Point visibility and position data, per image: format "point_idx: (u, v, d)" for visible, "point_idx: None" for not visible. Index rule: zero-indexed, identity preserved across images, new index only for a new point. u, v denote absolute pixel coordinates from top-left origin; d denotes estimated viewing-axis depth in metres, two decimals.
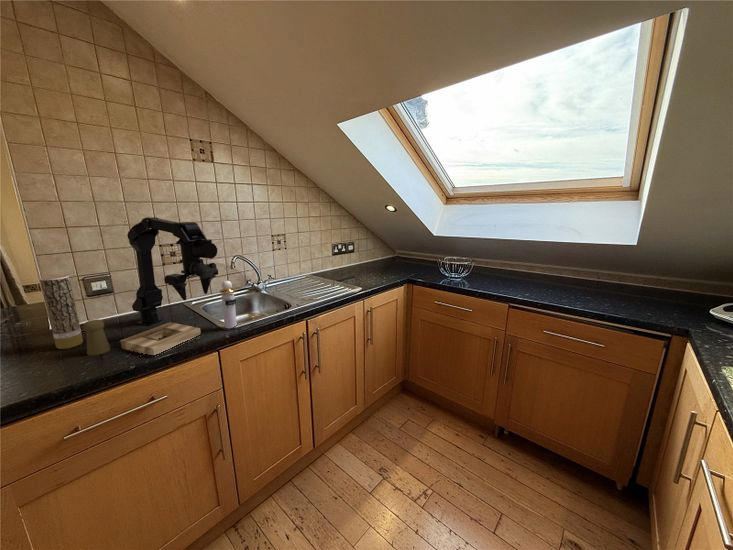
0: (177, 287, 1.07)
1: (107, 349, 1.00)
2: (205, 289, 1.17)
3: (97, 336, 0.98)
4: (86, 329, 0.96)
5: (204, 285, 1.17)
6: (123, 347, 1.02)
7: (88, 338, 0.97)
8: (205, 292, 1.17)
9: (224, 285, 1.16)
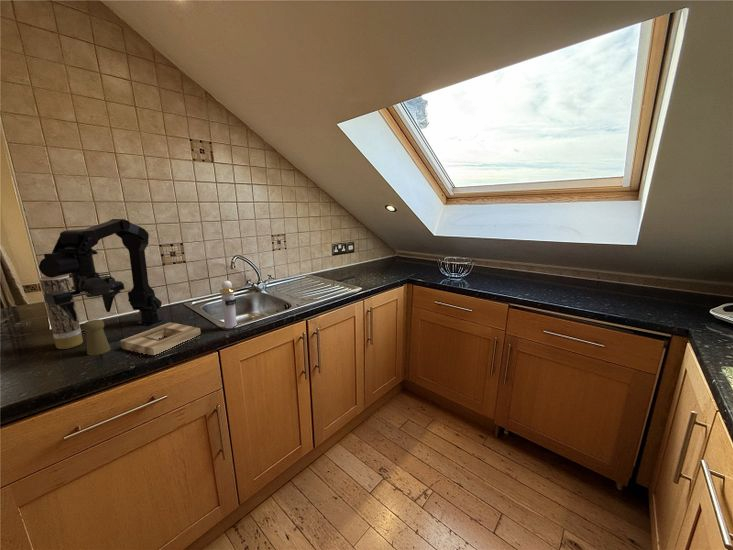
0: (64, 306, 0.91)
1: (107, 349, 1.00)
2: (107, 307, 1.01)
3: (97, 336, 0.98)
4: (86, 329, 0.96)
5: (106, 302, 1.01)
6: (123, 347, 1.02)
7: (88, 338, 0.97)
8: (107, 310, 1.02)
9: (224, 285, 1.16)
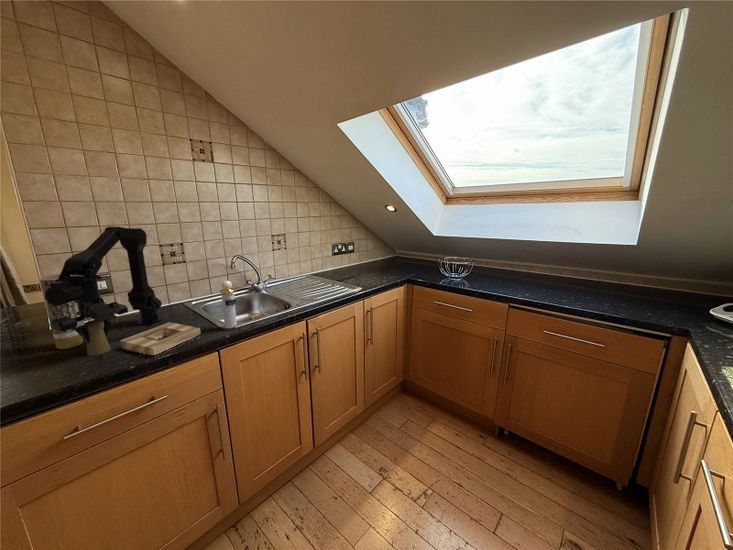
0: (78, 329, 0.95)
1: (107, 349, 1.00)
2: (104, 332, 1.01)
3: (97, 336, 0.98)
4: None
5: None
6: (123, 347, 1.02)
7: None
8: None
9: (224, 285, 1.16)
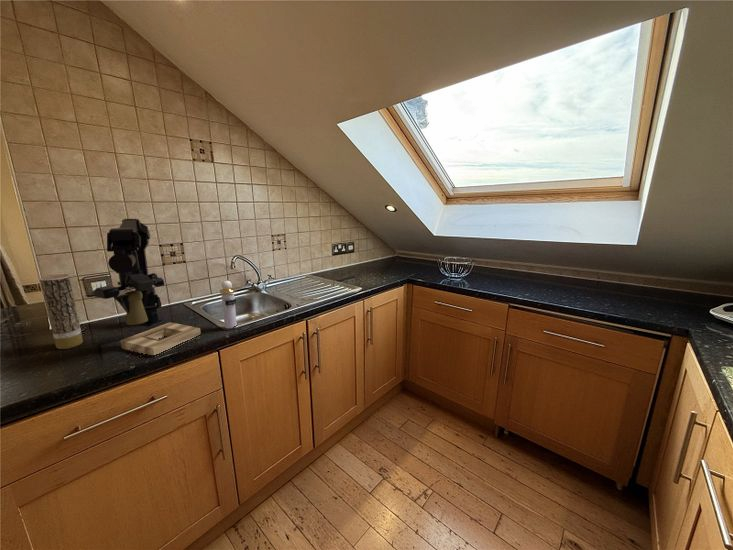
0: (119, 299, 0.98)
1: (145, 320, 1.03)
2: None
3: (136, 307, 1.01)
4: None
5: (141, 299, 1.04)
6: (123, 347, 1.02)
7: None
8: None
9: (224, 285, 1.16)
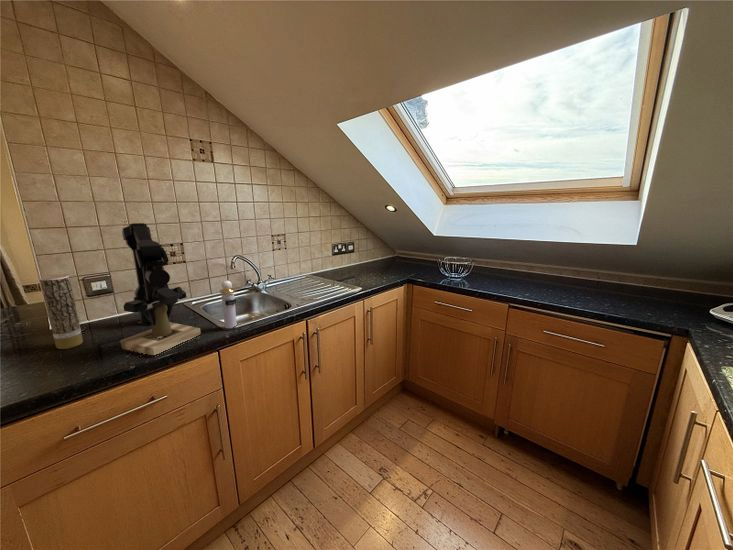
0: (145, 312, 1.02)
1: (170, 331, 1.07)
2: None
3: (162, 319, 1.05)
4: None
5: None
6: (123, 347, 1.02)
7: None
8: None
9: (224, 285, 1.16)
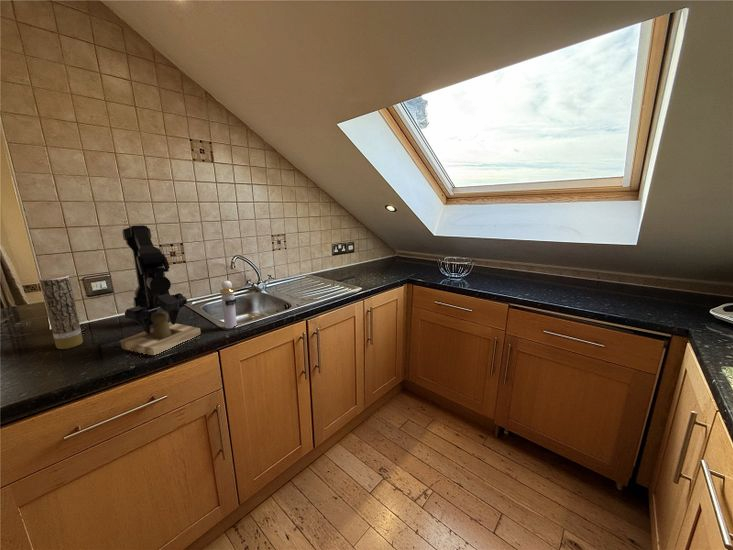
0: (140, 320, 1.01)
1: None
2: (173, 320, 1.11)
3: (163, 328, 1.05)
4: (154, 321, 1.04)
5: (171, 315, 1.11)
6: (123, 347, 1.02)
7: (155, 329, 1.05)
8: (173, 323, 1.11)
9: (224, 285, 1.16)
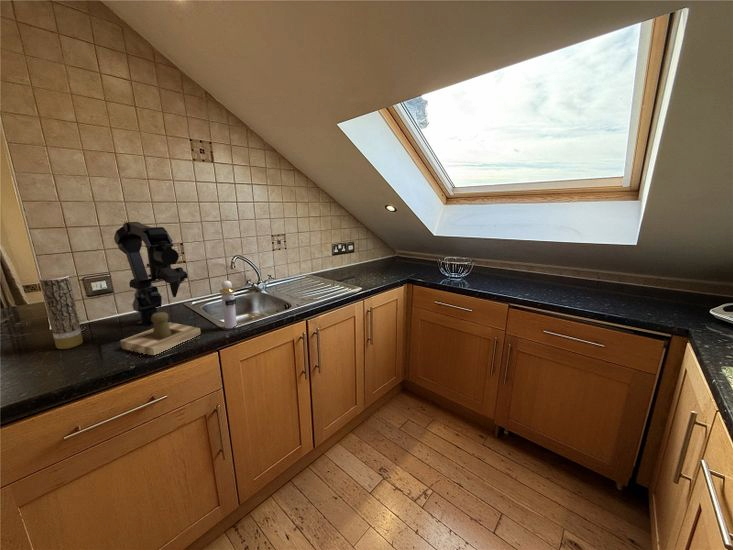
0: (143, 291, 1.08)
1: None
2: (174, 293, 1.18)
3: (163, 328, 1.05)
4: (154, 321, 1.04)
5: (173, 289, 1.18)
6: (123, 347, 1.02)
7: (155, 329, 1.05)
8: (174, 295, 1.18)
9: (224, 285, 1.16)
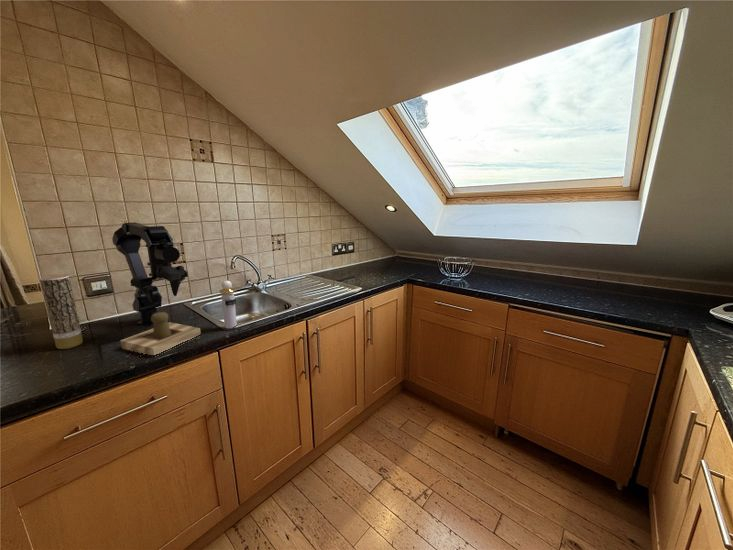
0: (144, 289, 1.09)
1: None
2: (174, 291, 1.19)
3: (163, 328, 1.05)
4: (154, 321, 1.04)
5: (173, 287, 1.19)
6: (123, 347, 1.02)
7: (155, 329, 1.05)
8: (174, 294, 1.19)
9: (224, 285, 1.16)
